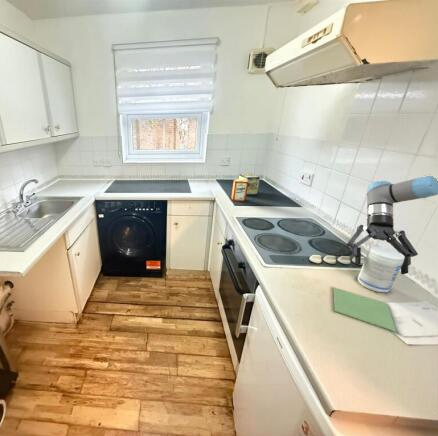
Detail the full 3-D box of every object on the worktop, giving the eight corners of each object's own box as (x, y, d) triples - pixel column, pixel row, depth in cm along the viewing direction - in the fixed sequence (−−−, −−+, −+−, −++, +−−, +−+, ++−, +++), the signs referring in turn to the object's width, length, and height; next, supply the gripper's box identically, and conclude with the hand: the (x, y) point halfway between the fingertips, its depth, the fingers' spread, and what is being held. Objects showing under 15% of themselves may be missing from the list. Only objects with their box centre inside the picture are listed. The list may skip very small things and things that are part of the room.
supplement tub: (393, 296, 86) (410, 262, 80) (359, 288, 90) (374, 255, 84) (384, 281, 94) (399, 249, 88) (354, 274, 98) (366, 243, 92)
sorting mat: (386, 304, 82) (387, 303, 82) (395, 332, 72) (396, 331, 72) (333, 288, 90) (333, 287, 90) (334, 311, 80) (335, 310, 79)
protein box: (245, 196, 197) (248, 177, 191) (236, 190, 212) (239, 173, 205) (257, 195, 198) (260, 177, 192) (248, 190, 212) (250, 173, 206)
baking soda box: (243, 198, 190) (246, 179, 184) (245, 201, 184) (248, 181, 178) (231, 198, 192) (233, 178, 185) (232, 200, 186) (235, 180, 179)
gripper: (415, 226, 93) (418, 279, 87) (338, 216, 103) (335, 263, 96) (429, 219, 87) (433, 275, 80) (345, 209, 97) (343, 258, 90)
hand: (380, 268), depth 88 cm, fingers open, 13 cm apart
